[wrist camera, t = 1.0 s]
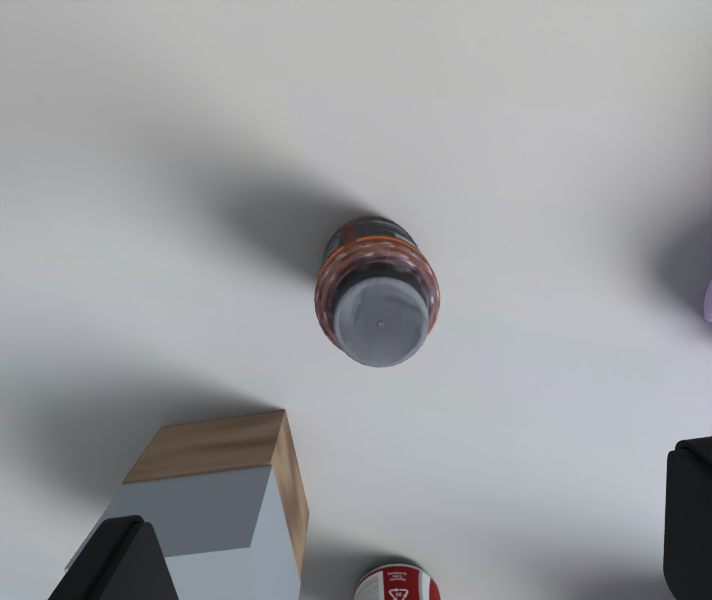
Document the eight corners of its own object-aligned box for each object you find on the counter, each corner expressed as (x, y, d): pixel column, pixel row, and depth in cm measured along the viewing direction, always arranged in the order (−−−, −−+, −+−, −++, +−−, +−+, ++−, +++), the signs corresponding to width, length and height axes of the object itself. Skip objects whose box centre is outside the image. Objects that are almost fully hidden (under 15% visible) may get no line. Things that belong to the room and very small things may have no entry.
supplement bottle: (325, 306, 31) (307, 390, 20) (322, 214, 29) (301, 252, 18) (416, 306, 31) (448, 389, 20) (419, 214, 29) (456, 251, 18)
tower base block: (162, 426, 34) (122, 481, 28) (285, 408, 33) (270, 462, 28) (194, 526, 36) (164, 596, 31) (309, 511, 36) (300, 580, 30)
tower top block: (124, 483, 28) (64, 569, 22) (272, 465, 28) (249, 547, 22) (165, 598, 31) (120, 700, 25) (300, 582, 30) (287, 683, 25)
